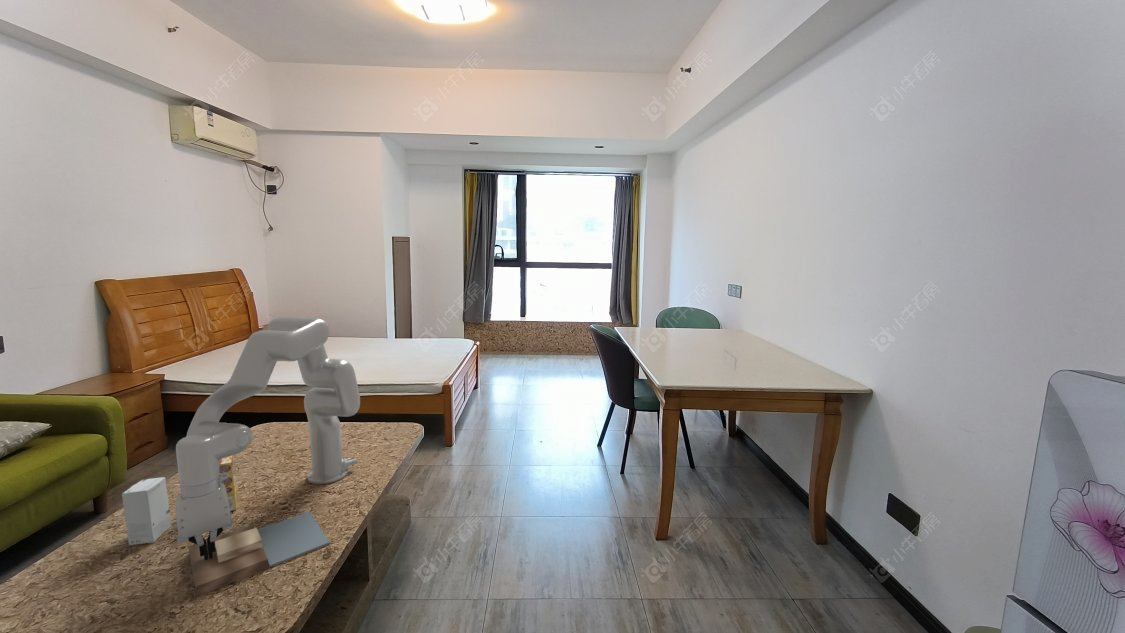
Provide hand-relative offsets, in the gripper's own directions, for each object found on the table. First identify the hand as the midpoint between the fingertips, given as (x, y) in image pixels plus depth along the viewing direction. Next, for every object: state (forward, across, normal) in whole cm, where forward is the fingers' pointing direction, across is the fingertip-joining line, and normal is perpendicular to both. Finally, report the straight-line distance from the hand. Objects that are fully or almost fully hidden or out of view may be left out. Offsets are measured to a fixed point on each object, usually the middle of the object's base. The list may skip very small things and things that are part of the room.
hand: (208, 556), depth 112 cm
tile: (+1, -6, 0) cm, 6 cm away
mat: (+3, -18, 0) cm, 18 cm away
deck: (+3, -4, 0) cm, 5 cm away
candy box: (+4, -8, -31) cm, 32 cm away
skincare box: (+4, +10, -26) cm, 29 cm away
